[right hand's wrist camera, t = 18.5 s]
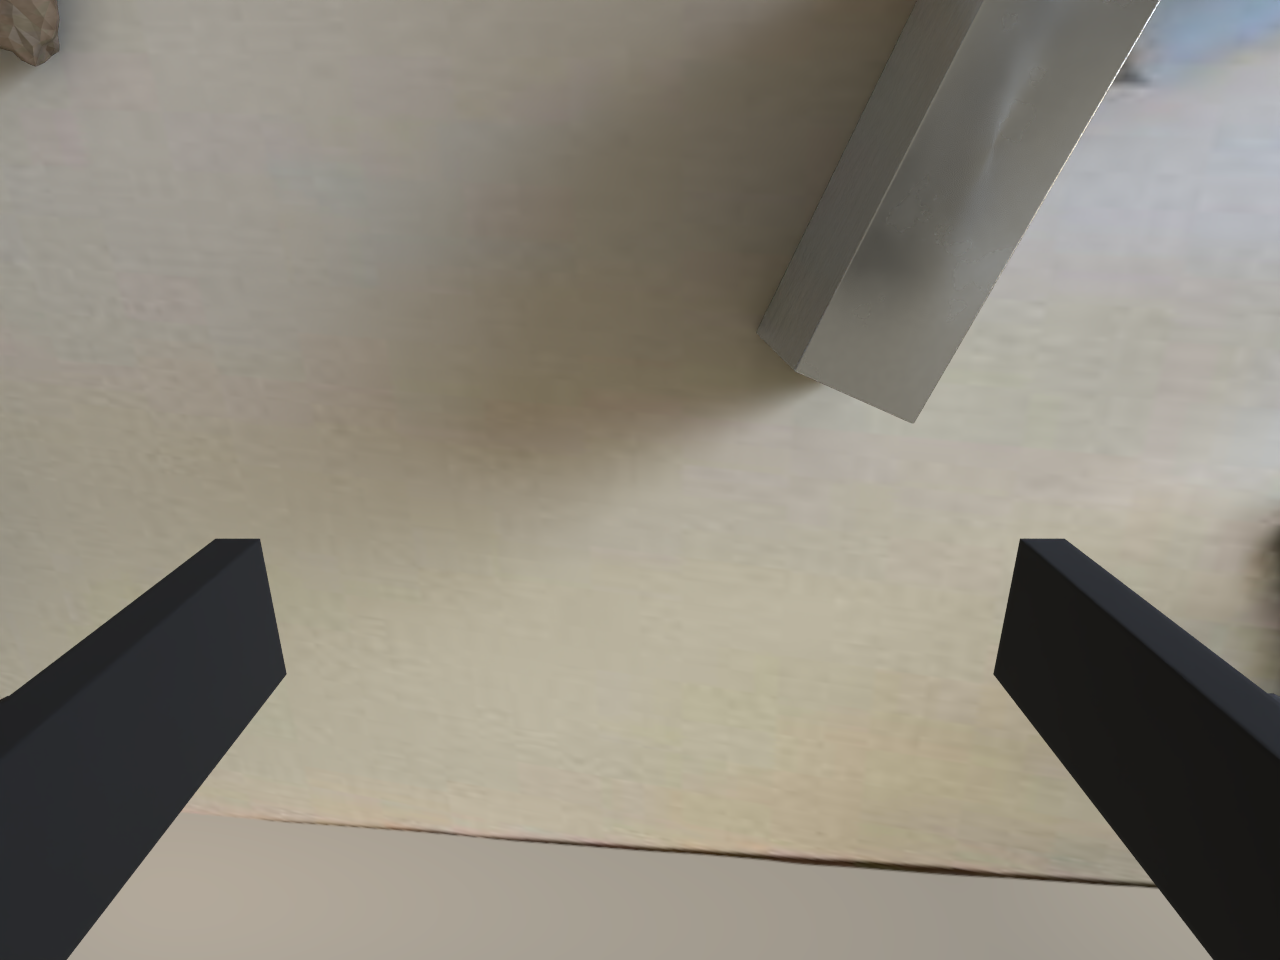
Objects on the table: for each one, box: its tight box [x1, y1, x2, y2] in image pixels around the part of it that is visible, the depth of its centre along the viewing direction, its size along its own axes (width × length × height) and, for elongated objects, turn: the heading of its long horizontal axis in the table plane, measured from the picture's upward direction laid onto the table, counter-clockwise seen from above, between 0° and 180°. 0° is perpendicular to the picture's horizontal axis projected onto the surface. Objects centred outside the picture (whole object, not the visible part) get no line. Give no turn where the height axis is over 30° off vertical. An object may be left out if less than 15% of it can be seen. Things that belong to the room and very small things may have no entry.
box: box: [757, 0, 1160, 423], centre depth 34 cm, size 22×6×11 cm, turn 157°
